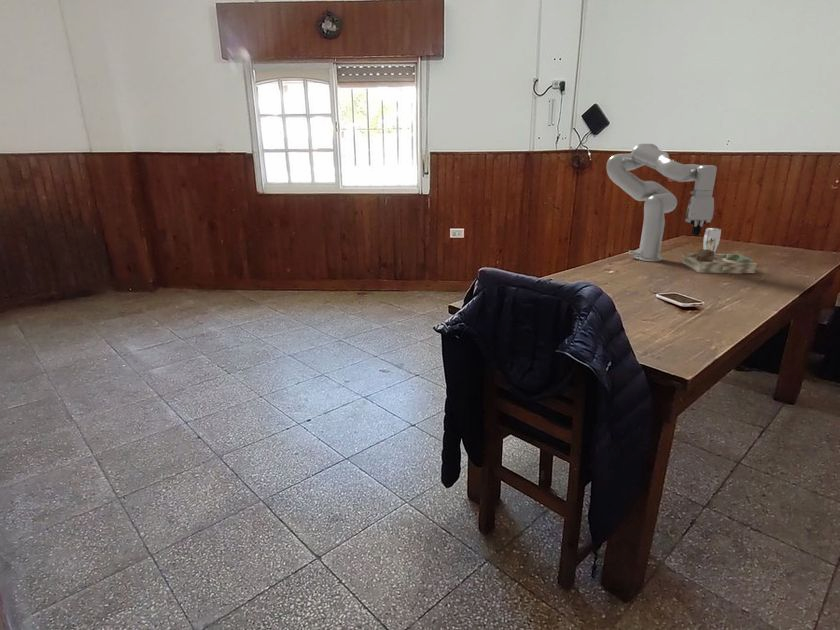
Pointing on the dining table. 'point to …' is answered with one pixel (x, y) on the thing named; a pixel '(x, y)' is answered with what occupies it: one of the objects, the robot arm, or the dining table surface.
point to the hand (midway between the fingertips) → (695, 235)
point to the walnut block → (705, 255)
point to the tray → (720, 263)
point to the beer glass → (711, 239)
